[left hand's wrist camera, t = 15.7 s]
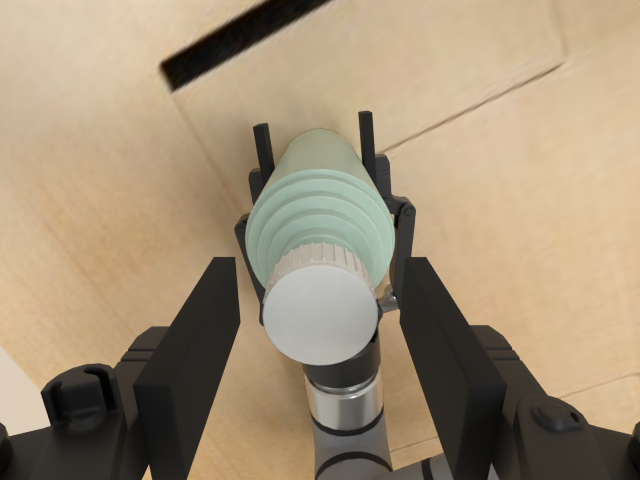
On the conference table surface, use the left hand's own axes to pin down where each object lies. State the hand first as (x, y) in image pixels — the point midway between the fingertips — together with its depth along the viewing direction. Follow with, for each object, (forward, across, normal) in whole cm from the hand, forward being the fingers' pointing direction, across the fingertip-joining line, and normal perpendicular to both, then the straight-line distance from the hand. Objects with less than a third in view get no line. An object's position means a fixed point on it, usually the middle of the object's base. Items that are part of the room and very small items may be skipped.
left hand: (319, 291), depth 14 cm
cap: (-1, 0, 0) cm, 1 cm away
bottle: (+24, 0, 0) cm, 24 cm away
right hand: (+18, +1, -5) cm, 19 cm away
